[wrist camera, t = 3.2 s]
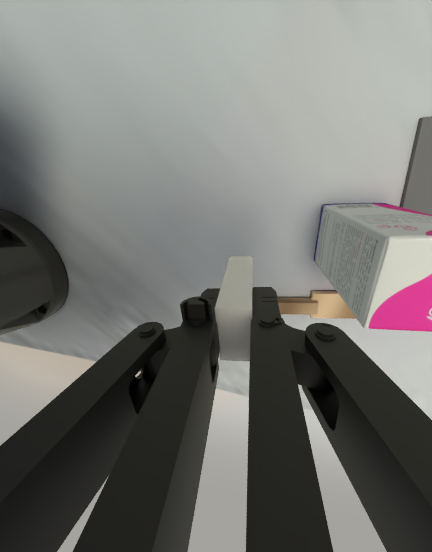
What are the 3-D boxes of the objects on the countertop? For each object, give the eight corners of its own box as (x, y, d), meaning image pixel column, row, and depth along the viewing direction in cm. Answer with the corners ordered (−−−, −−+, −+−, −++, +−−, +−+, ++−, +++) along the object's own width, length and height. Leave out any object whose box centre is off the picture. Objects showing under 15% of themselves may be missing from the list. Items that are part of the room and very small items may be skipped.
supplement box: (312, 262, 23) (360, 330, 13) (321, 203, 21) (388, 229, 11) (373, 263, 23) (475, 337, 12) (389, 202, 20) (533, 229, 10)
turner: (243, 313, 27) (243, 319, 26) (242, 291, 26) (241, 296, 25) (388, 316, 24) (394, 322, 23) (395, 291, 23) (401, 296, 22)
